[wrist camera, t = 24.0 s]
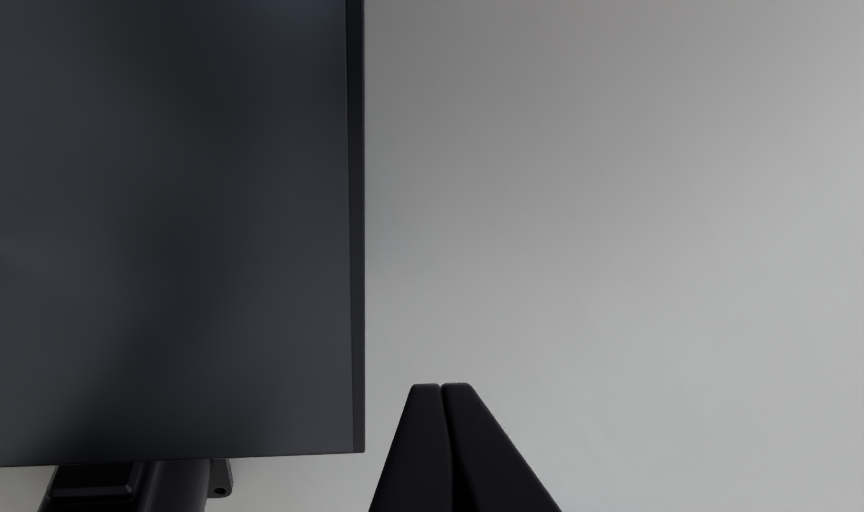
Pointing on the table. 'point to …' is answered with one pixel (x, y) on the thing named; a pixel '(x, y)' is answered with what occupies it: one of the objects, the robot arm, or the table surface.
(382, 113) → the table surface
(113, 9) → the black drawer housing
